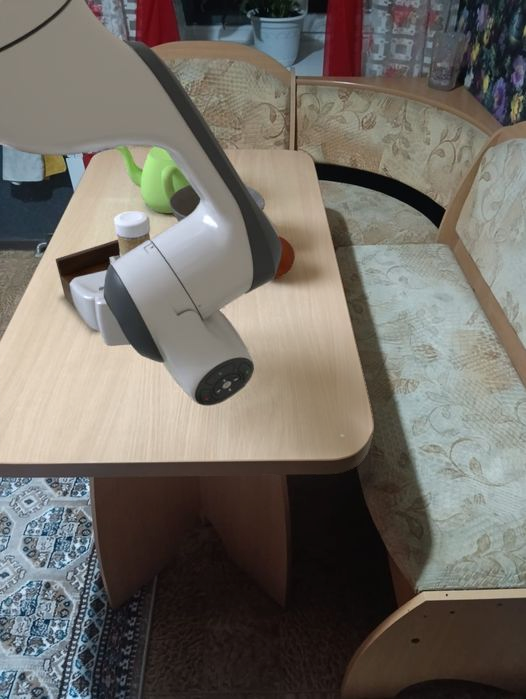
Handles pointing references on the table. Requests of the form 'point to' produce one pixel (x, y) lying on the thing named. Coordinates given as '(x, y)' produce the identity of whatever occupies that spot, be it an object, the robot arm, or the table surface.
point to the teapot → (155, 177)
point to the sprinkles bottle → (131, 230)
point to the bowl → (198, 201)
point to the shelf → (85, 264)
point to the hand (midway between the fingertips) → (134, 256)
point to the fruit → (285, 258)
